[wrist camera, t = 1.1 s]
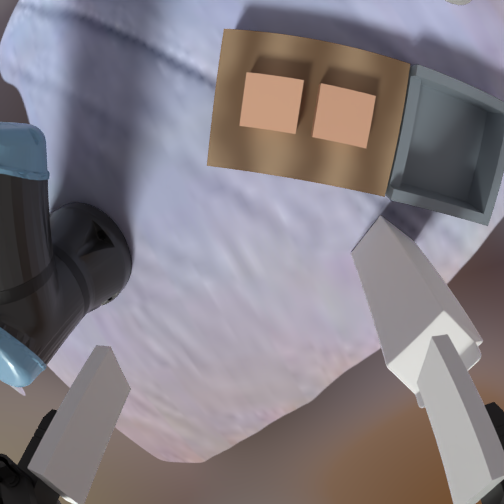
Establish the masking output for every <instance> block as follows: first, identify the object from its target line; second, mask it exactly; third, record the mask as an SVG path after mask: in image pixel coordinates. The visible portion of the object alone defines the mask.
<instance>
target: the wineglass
mask: <svg viewBox="0 0 504 504" xmlns="http://www.w3.org/2000/svg"><path fill="white" fill-rule="evenodd" d="M445 1H447V2H449V3H452V4H455V5H465V4H467V3H469V2H470V1H471V0H445Z"/></svg>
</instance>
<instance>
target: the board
mask: <svg viewBox="0 0 504 504" xmlns="http://www.w3.org/2000/svg"><path fill="white" fill-rule="evenodd" d="M409 70H410V64H409V63H406V62H403V61H400V60H397V59H393V58H390V57H387V56H383V55H380V54H376V53H373V52H369V51H365V50H361V49H357V48H353V47H349V46H345V45H340V44H336V43H331V42H326V41H321V40H316V39H310V38H304V37H298V36H292V35H285V34H277V33H269V32H259V31H249V30H236V29H224V32H223V39H222V45H221V52H220V59H219V67H218V74H217V82H216V89H215V97H214V105H213V114H212V123H211V132H210V141H209V150H208V160H207V166H214V167H222V168H229V169H236V170H243V171H250V172H257V173H263V174H270V175H276V176H282V177H288V178H294V179H299V180H305V181H311V182H316V183H321V184H326V185H332V186H337V187H342V188H347V189H351V190H356V191H361V192H366V193H370V194H375V195H379V196H384V197H385V193H386V189H387V185H388V181H389V177H390V172H391V168H392V164H393V159H394V155H395V150H396V145H397V140H398V135H399V130H400V125H401V120H402V114H403V109H404V103H405V97H406V90H407V84H408V77H409ZM247 72H249V73H258V74H266V75H274V76H281V77H288V78H294V79H300V80H304V83H303V90H302V96H301V103H300V109H299V115H298V122H297V128H296V134H292V133H286V132H280V131H273V130H267V129H260V128H252V127H245V126H239V125H240V117H241V109H242V102H243V94H244V87H245V80H246V73H247ZM321 83H322V84H327V85H332V86H336V87H341V88H345V89H350V90H354V91H358V92H362V93H366V94H370V95H374V96H376V98H375V104H374V110H373V116H372V121H371V127H370V132H369V137H368V142H367V147H366V148H362V147H357V146H353V145H348V144H344V143H339V142H334V141H330V140H325V139H319V138H314V137H312V136H311V131H312V125H313V119H314V113H315V107H316V101H317V94H318V88H319V84H321Z"/></svg>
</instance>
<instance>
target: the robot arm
mask: <svg viewBox="0 0 504 504" xmlns="http://www.w3.org/2000/svg"><path fill="white" fill-rule="evenodd" d="M49 175H50V174H49V171H48V170H47V153H46V139H45V136H44V134H43V132H42V131H41V130H40V129H39V128H37V127H36V126H33V125H30V124H24V123H12V122H0V380H1V381H3V382H5V383H7V384H9V385H11V386H15V387H24V386H27V385H29V384H31V383H32V382H33V381H34V379H35V378H36V377H37V376H38V375H39V374H40V373H41V372H42V371H44V370H45V369H46V365H47V364H48V363H49V361H50V360H51V359H52V357H53V356H54V355H55V353H56V352H57V350H58V349H59V348H60V346H61V345H62V344H63V342H64V341H65V340H66V339H67V337H68V336H69V335H70V333H71V332H72V331H73V330H74V328H75V327H76V326H77V325H78V323H79V322H80V321H81V319H82V318H83V317H84V316H85V315H86V314H87V313H89V312H91V311H93V310H95V309H97V308H98V307H100V306H101V305H105V304H107V303H109V302H111V301H112V300H114V299H115V298H116V297H117V296H118V295H119V293H120V292H121V291H122V290H123V289H124V287H125V286H126V284H127V282H128V280H129V277H130V273H131V257H130V252H129V248H128V245H127V243H126V240H125V238H124V236H123V235H122V233H121V231H120V230H119V228H118V227H117V225H116V224H115V223H114V222H113V221H112V220H111V219H110V218H109V217H108V216H107V215H106V214H105V213H103V212H102V211H100V210H99V209H97V208H95V207H93V206H91V205H88V204H84V203H71V204H67V205H65V206H63V207H61V208H59V209H58V210H56V211H54V212H53V213H52V214H51V215H49V200H48V179H49ZM417 385H418V388H419V391H420V393H421V396H422V399H423V402H424V405H425V407H426V410H427V413H428V416H429V419H430V422H431V426H432V429H433V432H434V435H435V438H436V441H437V445H438V448H439V451H440V454H441V458H442V462H443V465H444V469H445V472H446V476H447V480H448V483H449V488H450V492H451V496H452V500H453V504H475V503H477V502H478V501H479V500H480V499H481V502H482V504H504V412H503V410H502V409H501V408H500V407H499V406H498V405H497V404H496V403H495V402H493V403H490V404H487V405H484V404H483V402H482V399H481V397H480V395H479V393H478V391H477V389H476V387H475V385H474V383H473V381H472V379H471V377H470V375H469V373H468V371H467V369H466V367H465V365H464V363H463V361H462V359H461V358H460V356H459V354H458V352H457V350H456V348H455V346H454V345H453V343H452V341H451V339H450V337H449V336H448V334H445V335H438V336H432V337H431V340H430V344H429V347H428V350H427V353H426V356H425V359H424V362H423V365H422V368H421V371H420V374H419V377H418V380H417ZM130 390H131V388H130V386H129V384H128V382H127V380H126V378H125V376H124V374H123V372H122V370H121V368H120V366H119V364H118V362H117V360H116V357H115V355H114V353H113V351H112V349H111V347H109V346H98V345H96V347H95V348H94V350H93V351H92V353H91V355H90V356H89V358H88V359H87V361H86V363H85V364H84V366H83V368H82V369H81V371H80V373H79V374H78V376H77V378H76V379H75V381H74V383H73V384H72V386H71V388H70V390H69V391H68V393H67V395H66V396H65V398H64V400H63V402H62V403H61V405H60V407H59V409H58V411H57V410H53V409H52V410H51V411H50V412H49V413H48V414H46V416H44V417H43V419H42V421H41V423H40V424H39V426H38V429H37V430H36V432H35V433H34V437H32V439H31V441H30V443H29V445H28V446H27V448H26V450H25V452H24V454H23V456H22V458H21V460H20V462H19V463H18V465H16V464H15V463H14V462H13V461H12V460H11V459H10V458H9V457H8V456H7V455H4V454H0V504H61V503H60V501H59V500H58V498H59V496H61V497H63V498H64V499H65V500H66V501H68V502H71V503H73V504H84V503H85V500H86V498H87V495H88V492H89V490H90V487H91V484H92V481H93V479H94V477H95V474H96V471H97V469H98V466H99V464H100V461H101V459H102V456H103V454H104V451H105V449H106V446H107V444H108V442H109V439H110V437H111V434H112V432H113V429H114V427H115V425H116V422H117V420H118V418H119V415H120V413H121V411H122V408H123V406H124V404H125V401H126V399H127V397H128V394H129V392H130Z"/></svg>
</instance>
